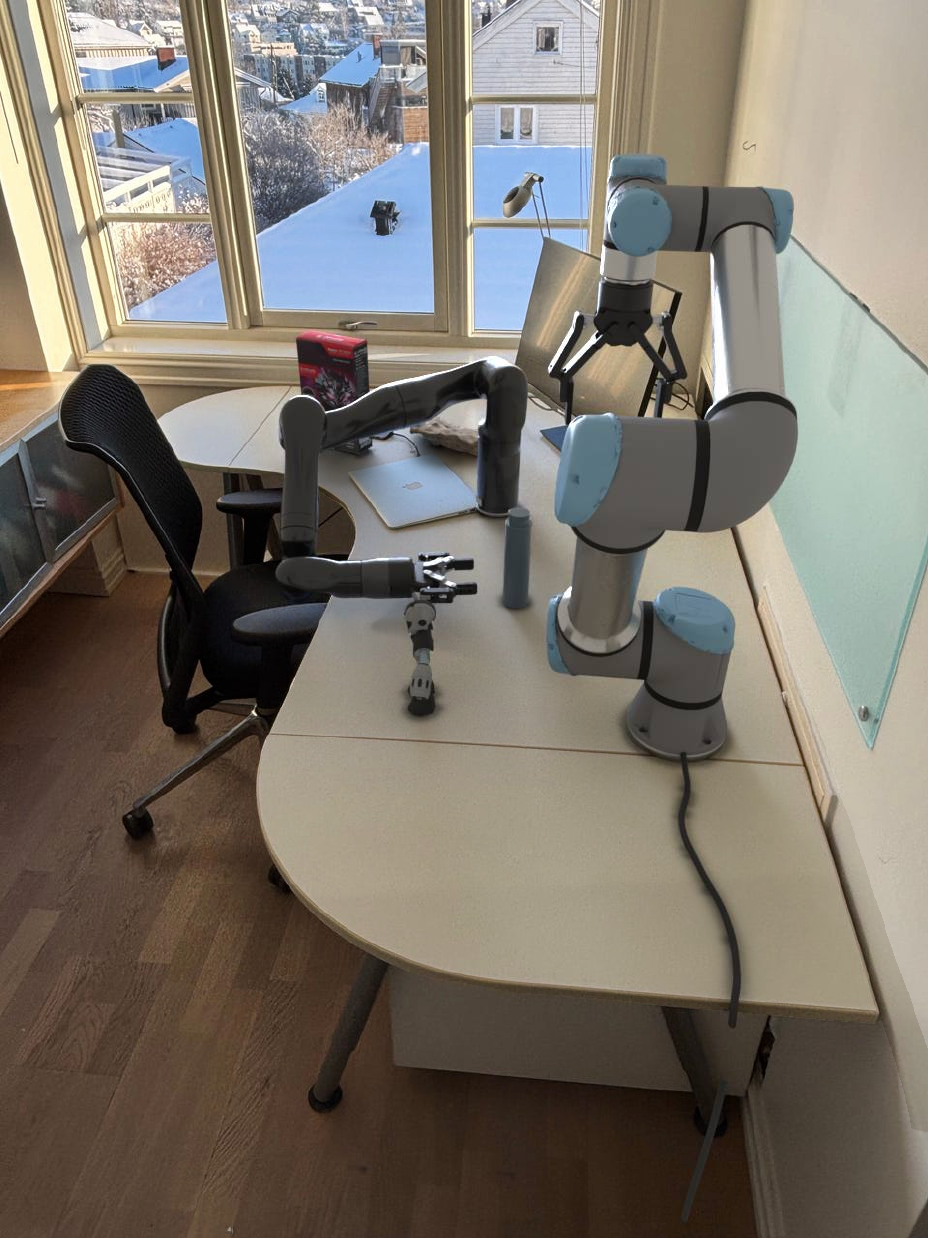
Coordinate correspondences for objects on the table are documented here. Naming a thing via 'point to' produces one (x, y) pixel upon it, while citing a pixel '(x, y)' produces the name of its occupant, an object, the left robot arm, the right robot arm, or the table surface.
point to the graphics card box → (334, 374)
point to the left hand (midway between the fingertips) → (475, 575)
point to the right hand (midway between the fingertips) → (612, 422)
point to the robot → (421, 655)
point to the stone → (448, 435)
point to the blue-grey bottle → (517, 558)
